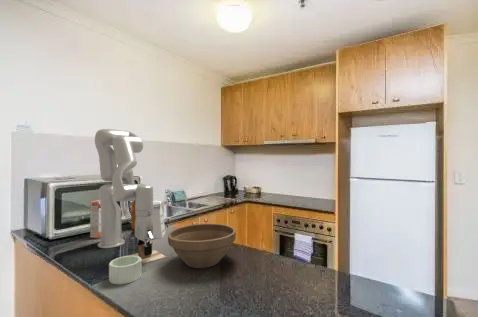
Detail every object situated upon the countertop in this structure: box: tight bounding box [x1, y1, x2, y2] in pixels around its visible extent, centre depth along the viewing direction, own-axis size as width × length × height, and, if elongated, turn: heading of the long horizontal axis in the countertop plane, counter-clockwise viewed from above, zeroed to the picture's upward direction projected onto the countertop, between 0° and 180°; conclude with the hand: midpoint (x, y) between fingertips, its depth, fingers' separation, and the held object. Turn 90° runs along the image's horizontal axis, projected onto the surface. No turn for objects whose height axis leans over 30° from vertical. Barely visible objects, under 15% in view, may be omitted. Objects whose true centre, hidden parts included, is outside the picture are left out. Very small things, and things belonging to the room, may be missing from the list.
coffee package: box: [130, 200, 136, 230], centre depth 164 cm, size 10×12×22 cm
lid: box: [127, 244, 167, 266], centre depth 113 cm, size 14×14×6 cm
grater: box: [146, 200, 166, 239], centre depth 146 cm, size 10×10×20 cm
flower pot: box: [167, 223, 237, 269], centre depth 108 cm, size 28×28×13 cm
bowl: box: [108, 254, 143, 285], centre depth 94 cm, size 11×11×6 cm
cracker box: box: [89, 199, 101, 239], centre depth 149 cm, size 14×6×21 cm, turn 168°
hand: (144, 252), depth 113 cm, fingers open, 6 cm apart
